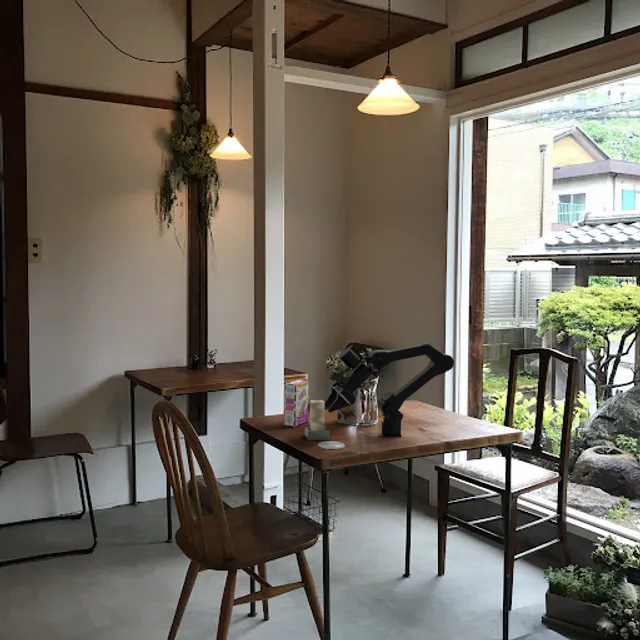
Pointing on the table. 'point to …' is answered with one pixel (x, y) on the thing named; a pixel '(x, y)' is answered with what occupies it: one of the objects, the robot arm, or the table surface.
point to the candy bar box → (296, 403)
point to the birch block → (317, 415)
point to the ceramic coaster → (331, 445)
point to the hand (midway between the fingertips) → (326, 409)
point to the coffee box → (349, 412)
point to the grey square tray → (316, 434)
